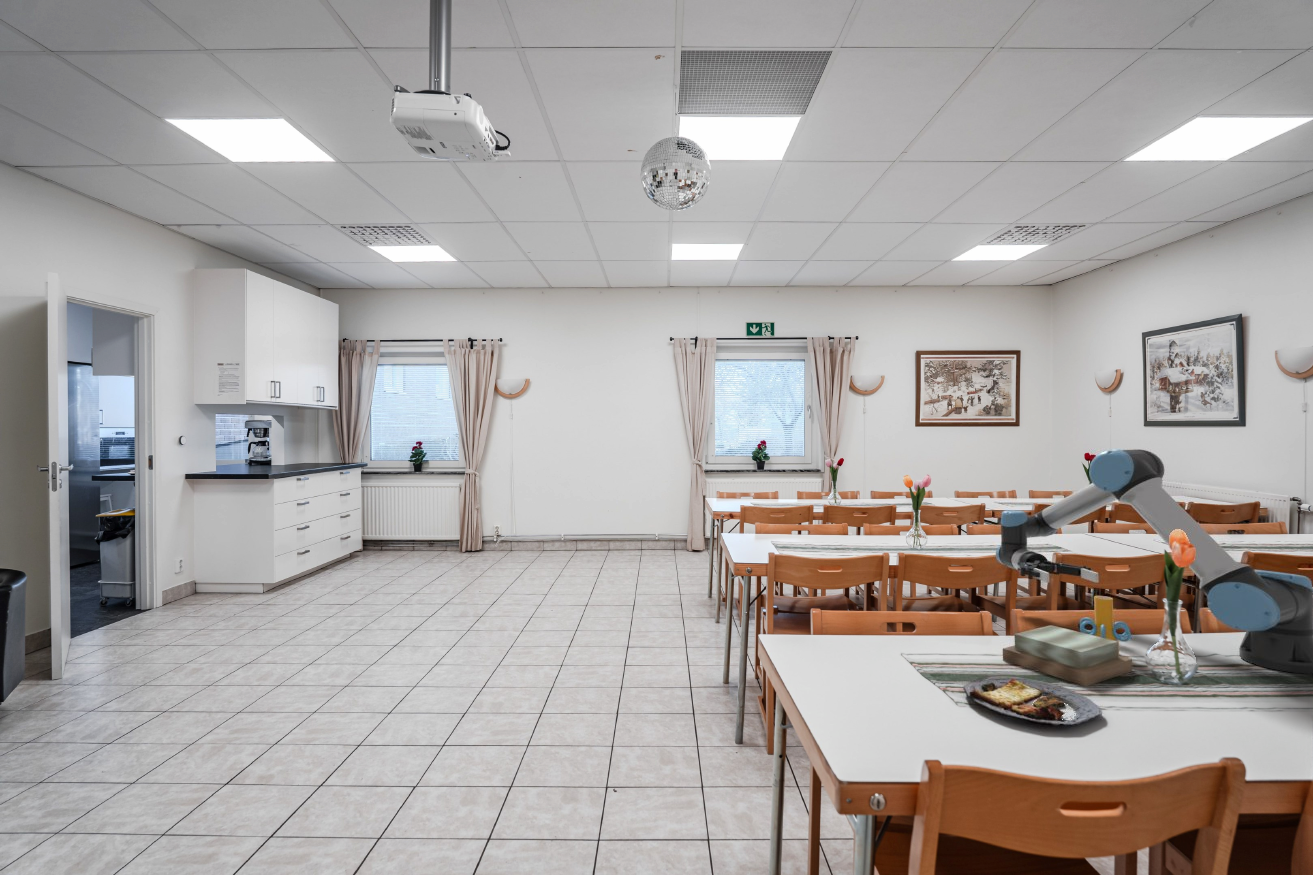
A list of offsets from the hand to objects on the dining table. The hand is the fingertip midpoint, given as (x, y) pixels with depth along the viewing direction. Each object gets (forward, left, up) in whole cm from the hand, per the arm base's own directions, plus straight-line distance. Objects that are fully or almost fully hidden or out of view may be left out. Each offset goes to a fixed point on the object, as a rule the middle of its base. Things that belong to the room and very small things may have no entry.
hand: (1072, 577), depth 171 cm
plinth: (-10, +23, -18) cm, 31 cm away
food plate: (-20, +55, -18) cm, 61 cm away
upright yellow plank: (-10, +5, -18) cm, 21 cm away
